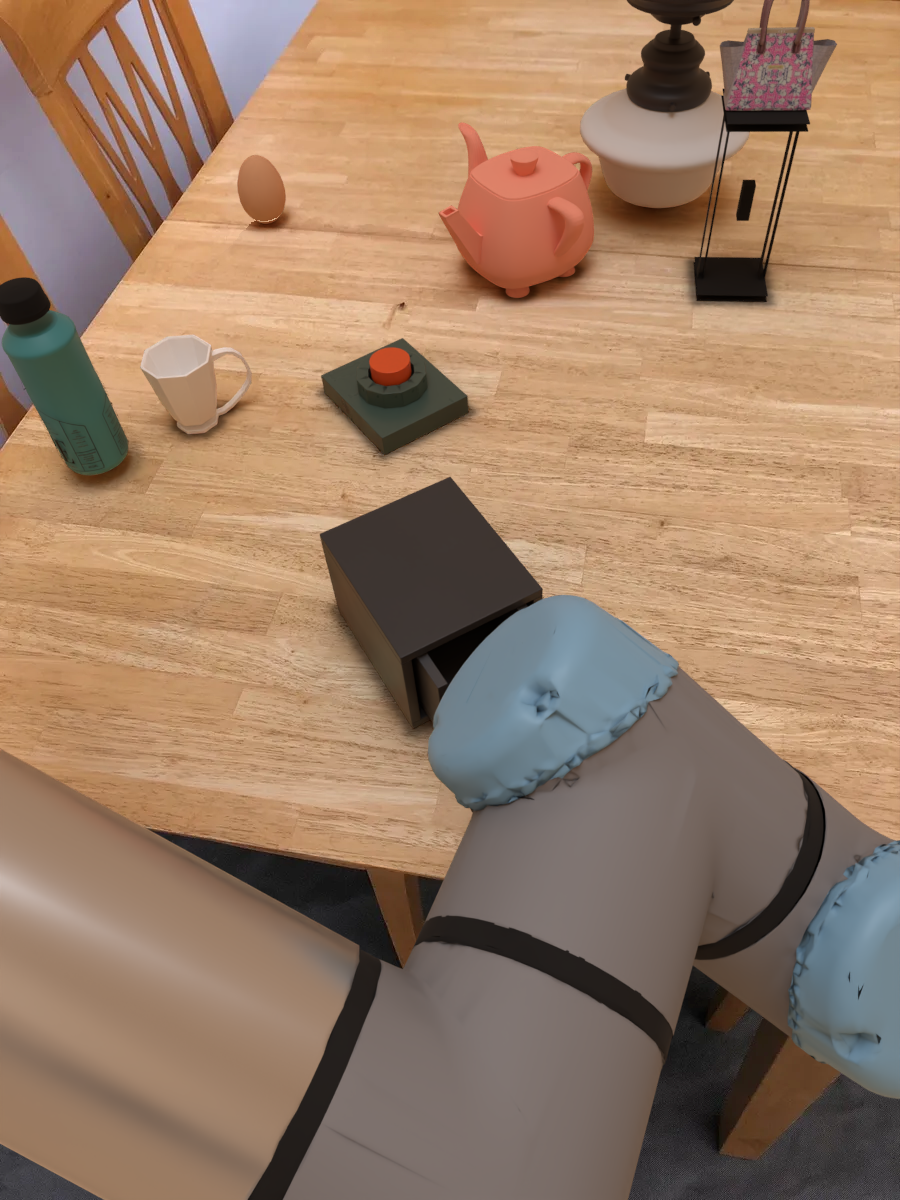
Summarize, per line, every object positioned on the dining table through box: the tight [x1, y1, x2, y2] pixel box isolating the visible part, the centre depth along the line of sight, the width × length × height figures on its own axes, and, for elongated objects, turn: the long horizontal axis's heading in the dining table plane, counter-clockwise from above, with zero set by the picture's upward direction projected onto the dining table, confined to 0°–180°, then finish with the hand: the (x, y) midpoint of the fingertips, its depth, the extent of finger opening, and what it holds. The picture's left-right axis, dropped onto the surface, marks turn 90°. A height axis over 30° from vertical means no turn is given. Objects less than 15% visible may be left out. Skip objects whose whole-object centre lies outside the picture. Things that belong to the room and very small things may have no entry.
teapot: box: [438, 122, 595, 299], centre depth 103 cm, size 16×17×14 cm
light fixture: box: [579, 0, 751, 209], centre depth 105 cm, size 20×20×25 cm
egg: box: [236, 154, 287, 225], centre depth 114 cm, size 6×6×8 cm
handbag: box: [693, 0, 838, 303], centre depth 92 cm, size 10×8×30 cm
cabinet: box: [319, 476, 544, 729], centre depth 72 cm, size 14×12×10 cm
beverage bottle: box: [0, 277, 129, 476], centre depth 83 cm, size 6×7×20 cm
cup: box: [139, 334, 253, 435], centre depth 92 cm, size 7×10×8 cm
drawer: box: [411, 604, 528, 724], centre depth 69 cm, size 14×10×8 cm
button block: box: [320, 337, 469, 455], centre depth 93 cm, size 12×10×4 cm
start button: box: [369, 347, 411, 386], centre depth 91 cm, size 4×4×2 cm
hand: (492, 746), depth 64 cm, fingers closed
